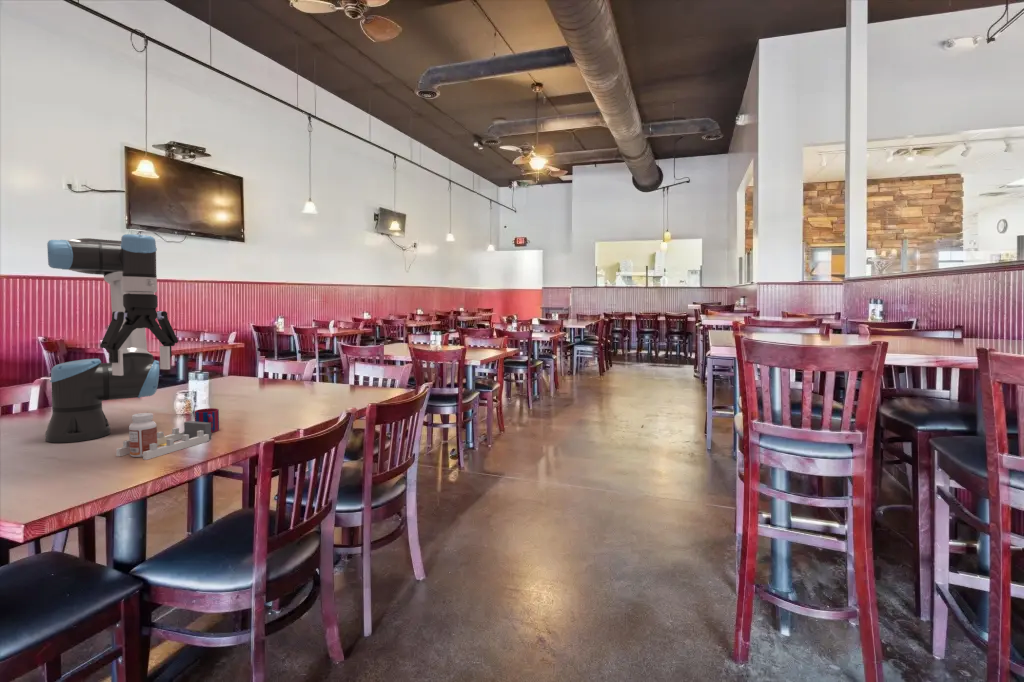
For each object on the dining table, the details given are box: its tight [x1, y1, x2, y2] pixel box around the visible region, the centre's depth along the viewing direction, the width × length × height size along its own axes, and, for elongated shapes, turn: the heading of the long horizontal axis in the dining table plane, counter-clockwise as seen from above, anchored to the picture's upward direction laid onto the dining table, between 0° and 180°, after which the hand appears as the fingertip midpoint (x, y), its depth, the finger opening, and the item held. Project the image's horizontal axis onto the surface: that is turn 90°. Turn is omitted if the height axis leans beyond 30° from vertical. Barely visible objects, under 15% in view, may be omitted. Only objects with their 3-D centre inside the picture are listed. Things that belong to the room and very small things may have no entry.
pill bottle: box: [128, 412, 158, 458], centre depth 140 cm, size 6×6×11 cm
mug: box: [194, 407, 220, 434], centre depth 166 cm, size 7×10×7 cm
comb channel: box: [115, 420, 212, 461], centre depth 148 cm, size 10×22×5 cm, turn 165°
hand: (142, 372), depth 139 cm, fingers open, 13 cm apart
